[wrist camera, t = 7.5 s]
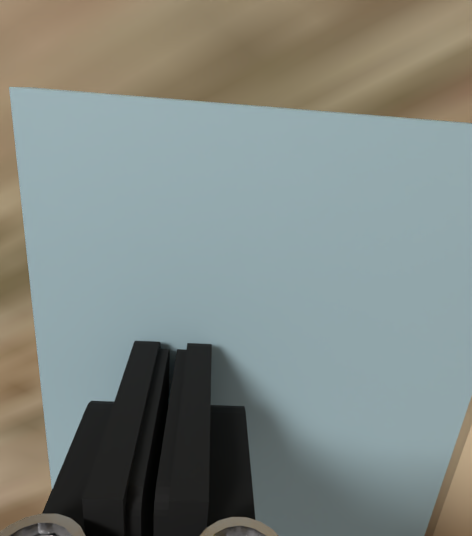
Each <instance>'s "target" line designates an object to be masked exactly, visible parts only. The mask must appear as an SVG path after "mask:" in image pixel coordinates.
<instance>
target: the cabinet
mask: <svg viewBox="0 0 472 536" xmlns="http://www.w3.org/2000/svg"><path fill="white" fill-rule="evenodd" d="M424 536H472V396H471V399H470V402H469V405H468V408H467V411H466V414H465V417H464V420H463V423H462V426H461V429H460V432H459V435H458V438H457V441H456V444H455V447H454V450H453V453H452V456H451V459H450V462H449V465H448V467H447V470H446V473H445V476H444V479H443V482H442V485H441V488H440V491H439V494H438V497H437V500H436V503H435V506H434V509H433V512H432V515H431V518H430V521H429V524H428V527H427V530H426V533H425V535H424Z"/></svg>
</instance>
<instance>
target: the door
mask: <svg viewBox="0 0 472 536" xmlns="http://www.w3.org/2000/svg"><path fill="white" fill-rule="evenodd" d="M9 90H10V99H11V109H12V118H13V128H14V137H15V146H16V156H17V165H18V175H19V184H20V193H21V203H22V212H23V222H24V231H25V240H26V250H27V259H28V269H29V278H30V287H31V297H32V306H33V316H34V325H35V334H36V344H37V353H38V363H39V372H40V381H41V391H42V400H43V410H44V419H45V428H46V438H47V447H48V457H49V466H50V475H51V485H52V489H53V487H54V484H55V482H56V479H57V477H58V474H59V472H60V470H61V467H62V465H63V462H64V460H65V458H66V455H67V453H68V450H69V448H70V446H71V443H72V441H73V438H74V436H75V433H76V431H77V429H78V426H79V424H80V421H81V419H82V417H83V414H84V412H85V409H86V407H87V405H88V403H89V402H90V401H115V398H116V395H117V392H118V389H119V386H120V383H121V380H122V377H123V374H124V371H125V368H126V365H127V362H128V359H129V356H130V353H131V350H132V347H133V344H134V341H154V342H160V343H161V348H163V349H169V350H170V362H169V398H170V392H171V385H172V379H173V372H174V366H175V359H176V353H177V349H186V350H187V343H199V344H212V359H211V405H228V406H244V407H245V411H246V421H247V432H248V443H249V454H250V465H251V476H252V487H253V498H254V509H255V520H257V521H260V522H262V523H264V524H265V525H267V526H268V527H270V528H271V529H273V530H274V531H275V532H276V533H277V535H278V536H424V535H425V533H426V530H427V527H428V524H429V521H430V518H431V515H432V512H433V509H434V506H435V503H436V500H437V497H438V494H439V491H440V488H441V485H442V482H443V479H444V476H445V473H446V470H447V467H448V465H449V462H450V459H451V456H452V453H453V450H454V447H455V444H456V441H457V438H458V435H459V432H460V429H461V426H462V423H463V420H464V417H465V414H466V411H467V408H468V405H469V402H470V399H471V396H472V123H464V122H451V121H439V120H427V119H414V118H402V117H390V116H377V115H365V114H352V113H340V112H328V111H315V110H303V109H291V108H278V107H266V106H253V105H241V104H229V103H216V102H204V101H192V100H179V99H167V98H154V97H142V96H130V95H117V94H105V93H93V92H80V91H68V90H56V89H43V88H31V87H9ZM168 405H169V403H168Z"/></svg>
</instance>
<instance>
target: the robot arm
mask: <svg viewBox="0 0 472 536" xmlns="http://www.w3.org/2000/svg"><path fill="white" fill-rule="evenodd" d="M211 359H212V344H199V343H187V350H186V349H177V353H176V359H175V366H174V372H173V379H172V385H171V392H170V398H169V362H170V350H169V349H163V348H161V343H160V342H154V341H134V344H133V347H132V350H131V353H130V356H129V359H128V362H127V365H126V368H125V371H124V374H123V377H122V380H121V383H120V386H119V389H118V392H117V395H116V398H115V401H90V402H89V403H88V405H87V407H86V409H85V412H84V414H83V417H82V419H81V421H80V424H79V426H78V429H77V431H76V433H75V436H74V438H73V441H72V443H71V446H70V448H69V450H68V453H67V455H66V458H65V460H64V462H63V465H62V467H61V470H60V472H59V474H58V477H57V479H56V482H55V484H54V487H53V489H52V491H51V494H50V496H49V499H48V501H47V503H46V506H45V508H44V511H43V513H42V514H38V515H34V516H30V517H26V518H24V519H22V520H19V521H17V522H15V523H13V524H11V525H9V526H8V527H6V528H5V529H4V530H3V531H1V532H0V536H278V535H277V533H276V532H275V531H274V530H273V529H271V528H270V527H268V526H267V525H265V524H264V523H262V522H260V521H257V520H255V509H254V498H253V487H252V476H251V465H250V454H249V443H248V432H247V421H246V411H245V407H244V406H228V405H211ZM168 403H169V405H168Z"/></svg>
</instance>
